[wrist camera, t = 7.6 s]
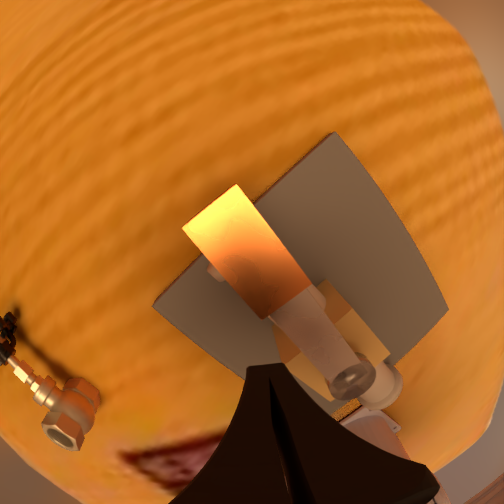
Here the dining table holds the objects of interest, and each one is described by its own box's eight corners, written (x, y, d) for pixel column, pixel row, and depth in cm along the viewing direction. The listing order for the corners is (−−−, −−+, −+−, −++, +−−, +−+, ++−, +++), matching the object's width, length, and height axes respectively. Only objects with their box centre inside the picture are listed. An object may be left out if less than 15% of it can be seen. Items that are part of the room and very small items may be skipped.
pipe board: (442, 305, 21) (479, 331, 15) (312, 417, 23) (326, 460, 17) (329, 133, 16) (368, 119, 11) (155, 300, 18) (132, 342, 13)
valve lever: (370, 363, 14) (384, 383, 12) (334, 388, 14) (344, 410, 13) (237, 181, 11) (239, 182, 9) (187, 221, 11) (179, 229, 9)
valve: (116, 389, 20) (18, 300, 18) (94, 443, 14) (-26, 334, 11) (90, 415, 21) (4, 339, 18) (70, 460, 15) (-30, 373, 12)
